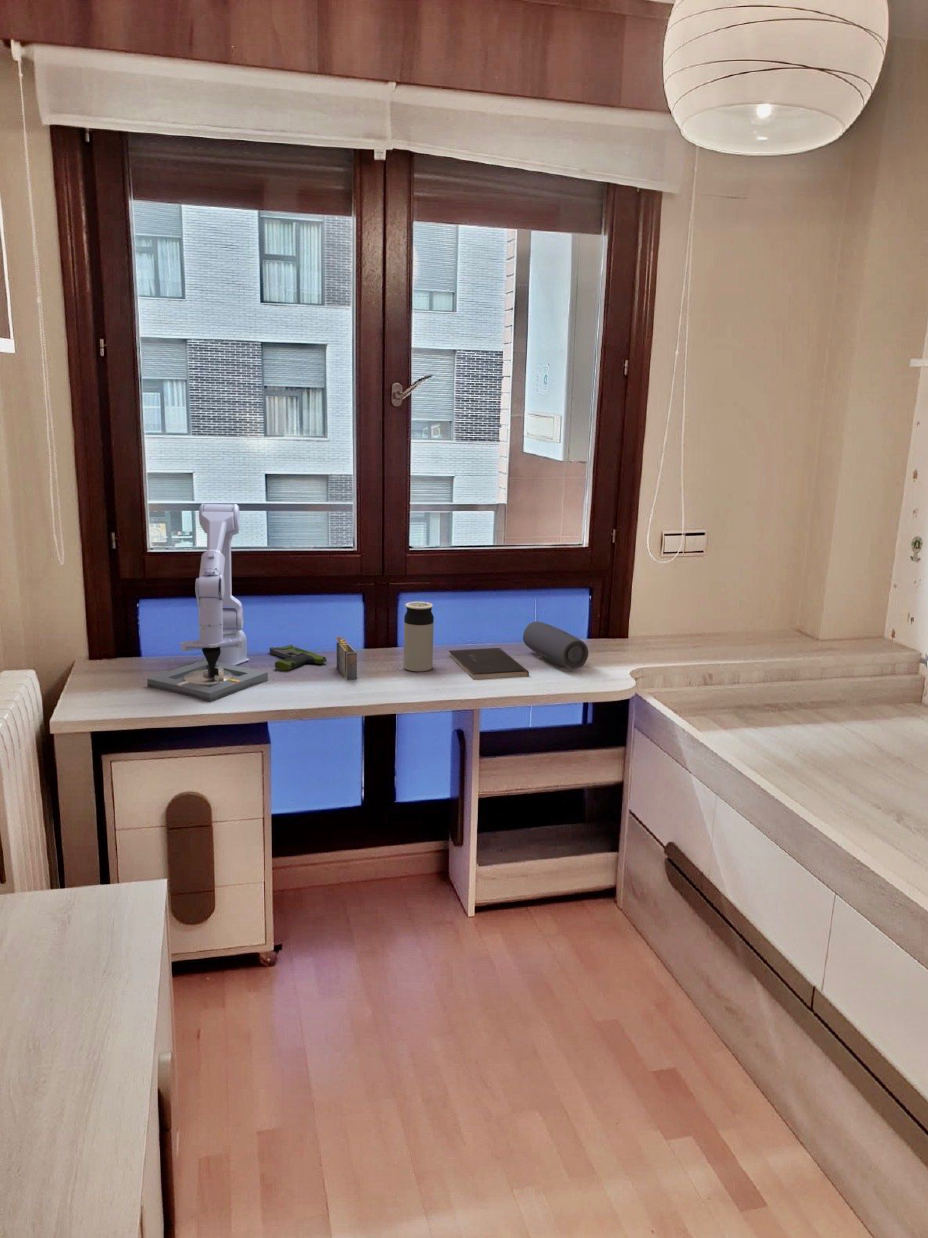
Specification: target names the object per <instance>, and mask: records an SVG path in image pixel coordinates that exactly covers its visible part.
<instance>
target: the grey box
mask: <svg viewBox="0 0 928 1238" xmlns="http://www.w3.org/2000/svg"><path fill="white" fill-rule="evenodd" d="M334 637H336V639H337V640H338V641H337V642H336V668H337V669H338V671H339V672H340V673H341V674H342V676H344V678H345V679H346V680H347V681H348V680H350V681H351V680H357V679H358V677H357V675H358V673H357V672H358V666H357V665H358V660H357V659H358V652H357V651H356V650H355V649H354V648H353V647H352V646H351V645H350V644H349V643H348V642H347V640H346V638H343V637H340V636H338V635H336V634H335V636H334Z"/></svg>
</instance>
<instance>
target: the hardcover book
mask: <svg viewBox="0 0 928 1238" xmlns="http://www.w3.org/2000/svg"><path fill="white" fill-rule="evenodd" d="M448 653H450V658H451V659H452V660H453V661H455V663H457V665H458V666H459V667H460V668H462V670H463V671H464V672H466V673H467V674H468V675H469V676H470V677H471V678H472V679H473V680H481V679H482V680H484V679H485V680H486V679H502V678H504V679H505V678H516V677H517V678H519V677H529V676H530V671H529V670H528V669H526V668H525V667H524V666H523V665H522V664H520V662H518V661H517V660H515V658H513V657H512V656H511V655H509V654H508V653H507V652H506V651H505V650H503V649H502V648H501V647H491V648H472V649H471V648H469V649H452V650H449V651H448Z"/></svg>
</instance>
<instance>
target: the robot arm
mask: <svg viewBox="0 0 928 1238" xmlns="http://www.w3.org/2000/svg"><path fill="white" fill-rule="evenodd" d="M240 517H241V515H240V506H239V505H238V504H237V503H234V504H233V503H232V504H228V503H227V504H225V503H222V504H221V503H220V504H219V503H216V504H215V503H201V504H200V506H199V508H198V521H199V526H201V529H202V530H203V532H204V533H205V534H206V551H204V552H203V553H202V554H201V559H200V565H199V566H200V567H199V568H200V569H199V574H198V575H199V576H198V577H197V578H196V579H195V584H194V585H195V587H194V589H195V597H196V606H197V607H198V629H199V630H198V633H199V634H198V635H199V636H198V637H199V639H194V640H193V639H192V640H187V641H180V650H181V652H186V651H192V650H193V651H194V650H201V651H202V654H203V656H204V657H205V660H207V662H208V665H209V676H210V678H214V676H215V674H214V668H215V665H216V662H222V663H226V664H231V665H236V666H238V665H240V664H242V663H246V662H249V661H250V658H248V654H247V653H248V651H247V650H248V648H247V646H248V645H247V642H248V641H247V636H246V634H245V632H244V630H242V629H243V627H244V612H243V604H242V602H241V600H239V599H238V598H236V597H235V596H233V595H232V591H233V590H232V589H233V587H232V583H233V582H232V540H233V536H235V535H238V534H239V532H240V529H241V528H240V526H241V525H240V524H241V523H240Z"/></svg>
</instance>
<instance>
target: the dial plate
mask: <svg viewBox="0 0 928 1238" xmlns="http://www.w3.org/2000/svg"><path fill="white" fill-rule="evenodd" d="M216 665H217V666H220V667H223V669H224V670H225V671H228V672H231V673H232V675H233V679H229V680H228V681H225V682H222V683H219V684H217V685H214V686H210V687H207V686H203V685H198V684H194V683H190V682H187V681H184V676H185V675H186V674H188V673H190V672H193V671H198V670H206V669H208V662H207V660H206V659H203V660H201V661H200V660H199V661H197V662H194V663H192V664H188V665H185V666H182V667H178V668H176V669H173V670H170V671H169V670H168V671H167V672H164V673H161V674H156V675H154V676H151V677H148V678H146V684H147V685H146V686H147V688H150V689H155V690H158V691H159V690H160V691H163V692H168V693H172V694H174V695H175V694H176V695H180V696H184V697H187V698H192V699H196V700H201V701H205V702H209V703H211V702H215V701H216V700H220V699H222V698H225V697H228V696H230V695H233V694H235V693H238V692H241V691H243V690H246V689H249V688H251V687H253V686H254V687H255V686H257V685H259V684H262V683H265V682H267V681H268V677H269V676H268V672H267V671H264V670H263V671H262V670H259V669H254V668H250V667H244V666H241V665H231V664H226V663H222V662H216Z"/></svg>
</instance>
